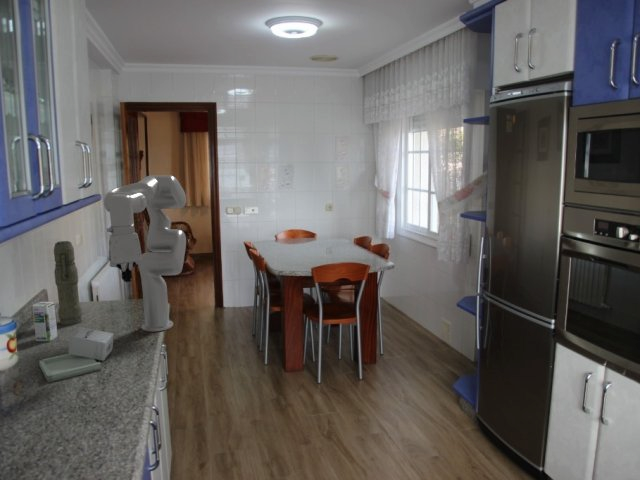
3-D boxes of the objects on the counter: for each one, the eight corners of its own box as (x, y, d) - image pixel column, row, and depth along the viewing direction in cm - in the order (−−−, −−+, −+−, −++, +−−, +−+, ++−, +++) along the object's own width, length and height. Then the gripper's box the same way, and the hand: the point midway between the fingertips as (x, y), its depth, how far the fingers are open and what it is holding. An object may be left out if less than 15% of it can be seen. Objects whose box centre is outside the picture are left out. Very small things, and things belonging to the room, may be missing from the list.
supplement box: (105, 343, 178) (68, 336, 178) (103, 361, 181) (67, 354, 180) (114, 332, 185) (78, 325, 185) (112, 350, 188) (77, 343, 187)
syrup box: (35, 341, 200) (31, 305, 198) (44, 336, 206) (40, 301, 204) (49, 341, 200) (45, 305, 197) (58, 336, 206) (54, 301, 203)
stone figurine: (81, 316, 230) (74, 239, 224) (82, 324, 219) (75, 243, 213) (59, 319, 226) (51, 240, 220) (59, 327, 216) (50, 245, 210)
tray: (39, 366, 177) (38, 360, 176) (89, 354, 186) (88, 349, 186) (48, 382, 164) (47, 376, 164) (101, 369, 174) (100, 363, 173)
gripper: (103, 233, 173) (108, 287, 176) (148, 229, 181) (151, 279, 185) (97, 231, 178) (102, 282, 182) (141, 226, 187) (144, 275, 191)
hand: (127, 281), depth 183 cm, fingers closed
